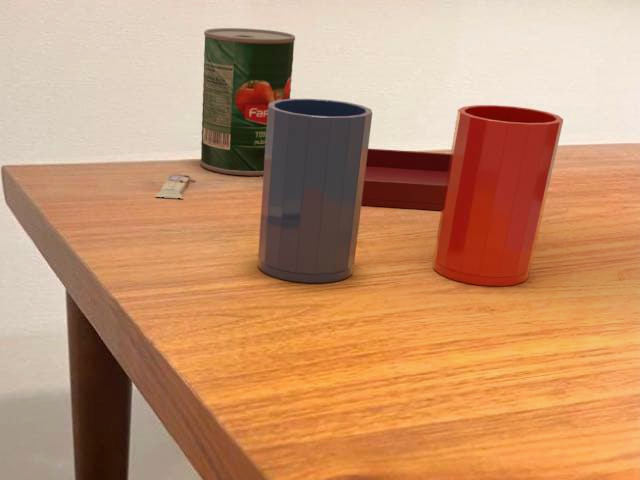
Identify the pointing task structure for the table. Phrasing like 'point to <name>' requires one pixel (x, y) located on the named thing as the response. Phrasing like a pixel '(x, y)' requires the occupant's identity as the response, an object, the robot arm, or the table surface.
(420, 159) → the red tray
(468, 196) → the red cup
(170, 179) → the granola bar
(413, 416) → the table surface
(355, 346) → the table surface
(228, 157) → the canned tomato
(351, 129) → the blue cup
